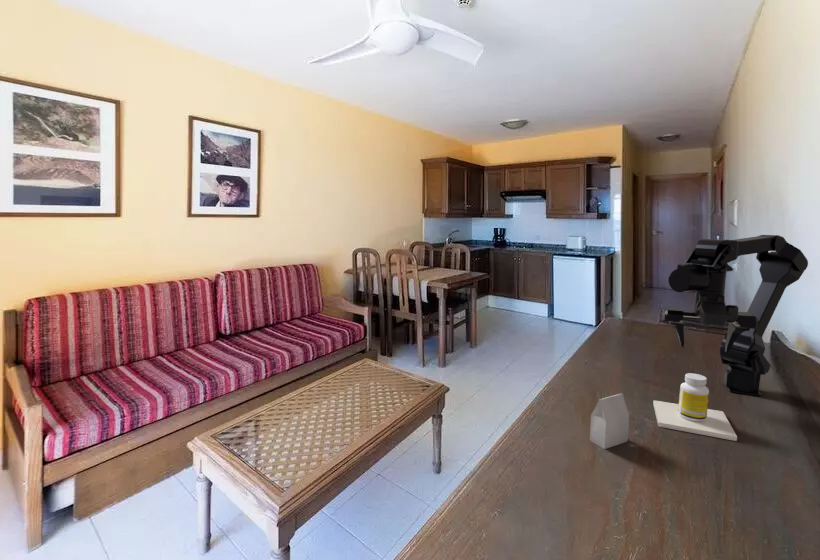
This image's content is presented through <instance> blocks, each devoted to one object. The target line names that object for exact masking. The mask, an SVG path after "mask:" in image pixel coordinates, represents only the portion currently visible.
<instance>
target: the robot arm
mask: <svg viewBox="0 0 820 560" xmlns="http://www.w3.org/2000/svg"><path fill="white" fill-rule="evenodd" d="M753 254H756V256H755V258H756V260H757V261H758V263H759V264H760V266H759V269H758V270H759V273H760V277H761V282H760V284H759V287H758V288H757V291H756V293H755V295H754V297H753V299H752V301H751V302H750V303H751V304H750V305H749V307H748V309H747V311H739V307H738V305H736V304H734V305H733V304H727V305H726V303H725V299H726V298H725V290H726V281H727V272H733V270H734V268H733V267H732V266H731V265H729V264H728V263H732V262H733V261H736V260H737V259H738V257H740V256H745V255H746V256H747V255H753ZM808 266H809V261H808V259H807V257H806V256H805V254H804V253H803V252H802V250H801V249H799V248H798V247H796V246H794V245H793V244H791V243H789V242H787V240H786V239H785V237H784V236H781V235H778V234H776V235H775V234H760V235H756V236H751V237H744V238H737V239H719V238H718V239H717V238H716V239H714V238H702V239H699V240H698V241H697V243H696V244H695V245H694V247H693V249H692V250H691V252H689V255H688V256H687V257H686V259H685V261H684V262H683V263H679V264H677V267H676V269H674V270H673V271H672V272H671V273H670V275H669V276H668V285H669V287H670V288H671V290H673V291H674V292H677V293H688V292H695V295H694V303H693V304H694V305H693V306H694V307H693V311H684V310H683V309H682V308H681V307H677V306H664V307H663V308H662V313H661V318H663V321H665V322H668V324H669V325H673V326H674V328H675V330H676V333H677V337H678V340H679V345H680V346H681V348H683V349H684V347H685V331H684V330H685V329H684V328H685V324H684V322H683V320H684V319H685V320H696V321H697V320H698V321H700V323H701V324H702V325H705V326H706V325H708V326H709V325H712V326H718V327H725V326H727V323H728V328H727V332H726V333H725V335H724V338H723V339H722V341H721V343H720V346H719V354H720V361H721V364H722V365H726V366H727V369H724V374H723V375H724V377H723V378H724V379H723V385H724V386H725V388H727V390H728V392H731V393H736V394H742V395H751V396H756V397H761V395H762V393H761V392H760V384H761V376H763V375H764V376H765V375H766V374H767V373H769V370H770V369H771V364H770V362H769V360H767V358H766V357H765V355H764V353H765V351H766V346H765V343H764V340H763V337H764V334H765V331H766V329H767V328H768V325H769V323H770V322H771V320H772V317H773V315H774V313H775V311H776V309H777V307H778V305H779V303H780V301H781V299H782V297H783V294H784V292H785V291H786V289H787V287H789V286H790V285H792V284H794V283H795V282H797V281H799V280H800V278H801V277H802V275H804V274H803V273H805V271H806V269H807V268H808Z"/></svg>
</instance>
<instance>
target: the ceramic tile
mask: <svg viewBox="0 0 820 560" xmlns="http://www.w3.org/2000/svg"><path fill="white" fill-rule="evenodd" d="M652 405H653V410H654V413H655V419H656V422H657V426H658V427H660V428H664V429H665V428H666V429H670V430H676V431H679V432H680V431H681V432H686V433H692V434H697V435H703V436H708V437H713V438H718V439H724V440H728V441H729V440H730V441H733V442H735V441H736V442H737V440H738V436H737V434H736V432H735V430H734V429H733V426H732V425H731V423H730V422H729V420H728V418H727V416H726V414H725V412H724V411H722V410H716V409H710V408H707V417H706V420H705V421H702V422H696V421H690V420H687V419H685V418H683V417H681V416H680V415H679V414H678V405H679V403H672V402H669V401H668V402H667V401H666V402H665V401H661V400H653V403H652Z"/></svg>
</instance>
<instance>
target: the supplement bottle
mask: <svg viewBox="0 0 820 560" xmlns="http://www.w3.org/2000/svg"><path fill="white" fill-rule="evenodd" d="M684 381H685V382H682V383H681V384H680V388H679V396H678V404H679V405H678V414H679V415H680V416H681V417H683V418H685V419H687V420H690V421H696V422H702V421H705V420H706V417H707V409H709V407H708V406H709V397H710V390H709V387H707V386H706V385H707V381H708V378H707V377H706V376H704V375H702V374H698V373H691V372H688V373H685V375H684Z"/></svg>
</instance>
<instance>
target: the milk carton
mask: <svg viewBox="0 0 820 560" xmlns="http://www.w3.org/2000/svg"><path fill="white" fill-rule="evenodd" d="M629 425H630V414H629V410H628V408H627V405H626V401H625V397H624V393H622V392H621V393H617V394H614V395H610V396H609V395H608V396H607V397H603V398H598V400H597V403H596V405H595V407H594V409H593V411H592V412H591V414H590V429H589V431H590V432H589V441H590V442H592V443H593V444H595V445H597V446H598V447H600V448H602V449H603V450H606V449H609V448H611V447H612V448H613V447H615V446H618V445H621V444H625V443H627V442H628V439H629Z"/></svg>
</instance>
